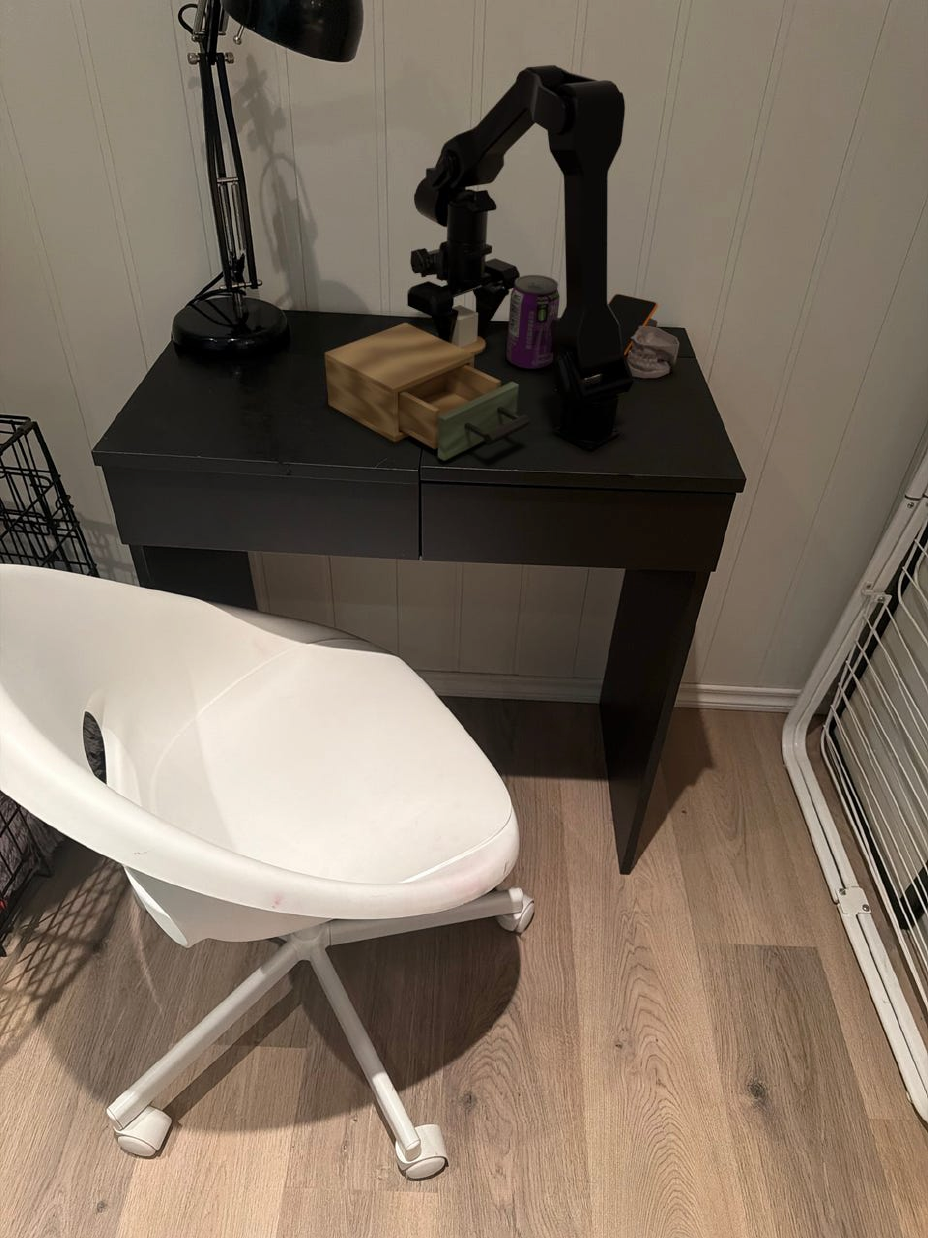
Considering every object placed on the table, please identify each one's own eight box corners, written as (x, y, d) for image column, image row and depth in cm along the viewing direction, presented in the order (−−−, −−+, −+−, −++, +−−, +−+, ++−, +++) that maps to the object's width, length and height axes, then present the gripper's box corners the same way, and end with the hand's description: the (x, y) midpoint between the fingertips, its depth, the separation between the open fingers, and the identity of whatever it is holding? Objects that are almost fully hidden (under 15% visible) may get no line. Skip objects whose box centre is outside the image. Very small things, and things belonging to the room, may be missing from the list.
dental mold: (658, 353, 120) (652, 385, 124) (688, 340, 124) (682, 372, 127) (616, 335, 125) (612, 367, 128) (646, 323, 128) (641, 354, 131)
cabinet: (472, 405, 118) (474, 354, 113) (394, 442, 110) (393, 388, 105) (406, 372, 125) (405, 322, 119) (328, 404, 117) (324, 352, 111)
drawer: (543, 438, 110) (548, 398, 106) (472, 477, 103) (474, 435, 99) (449, 391, 119) (450, 352, 115) (377, 423, 111) (376, 383, 108)
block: (477, 341, 132) (478, 312, 129) (459, 348, 130) (459, 319, 127) (458, 332, 134) (459, 304, 131) (440, 339, 132) (441, 311, 129)
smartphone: (659, 305, 131) (659, 301, 130) (611, 379, 125) (611, 375, 124) (614, 295, 134) (614, 291, 133) (565, 367, 128) (565, 363, 127)
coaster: (494, 346, 132) (494, 343, 131) (463, 360, 128) (463, 356, 128) (462, 332, 135) (462, 328, 135) (431, 345, 132) (431, 341, 131)
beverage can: (549, 375, 125) (558, 294, 117) (502, 369, 126) (507, 289, 118) (555, 354, 131) (563, 276, 122) (510, 349, 131) (515, 271, 123)
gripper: (471, 209, 130) (467, 309, 140) (380, 236, 120) (383, 341, 130) (525, 228, 124) (517, 331, 135) (434, 258, 114) (433, 366, 125)
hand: (463, 341), depth 131 cm, fingers open, 7 cm apart
